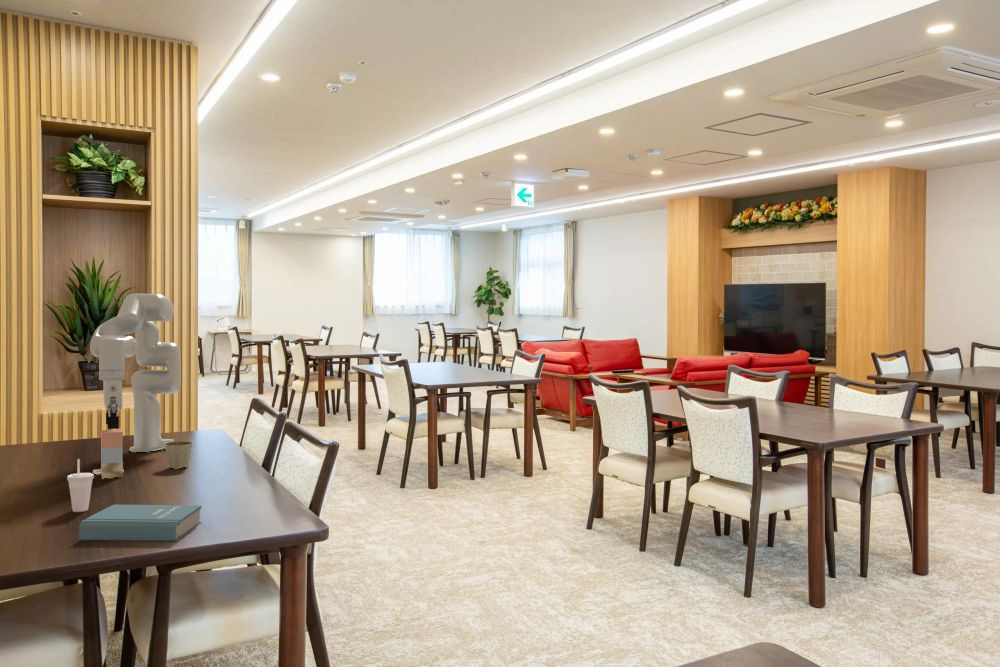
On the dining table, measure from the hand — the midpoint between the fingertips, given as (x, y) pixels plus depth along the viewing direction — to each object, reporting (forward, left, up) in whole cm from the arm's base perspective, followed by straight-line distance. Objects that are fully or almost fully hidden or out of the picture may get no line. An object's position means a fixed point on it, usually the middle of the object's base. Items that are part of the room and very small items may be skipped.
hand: (112, 426), depth 242 cm
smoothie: (+10, +43, -17) cm, 47 cm away
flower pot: (-21, -4, -17) cm, 27 cm away
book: (-3, +72, -17) cm, 74 cm away
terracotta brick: (0, 0, -7) cm, 7 cm away
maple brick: (0, 0, -17) cm, 17 cm away
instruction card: (+1, -8, -17) cm, 18 cm away
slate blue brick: (0, 0, -12) cm, 12 cm away
